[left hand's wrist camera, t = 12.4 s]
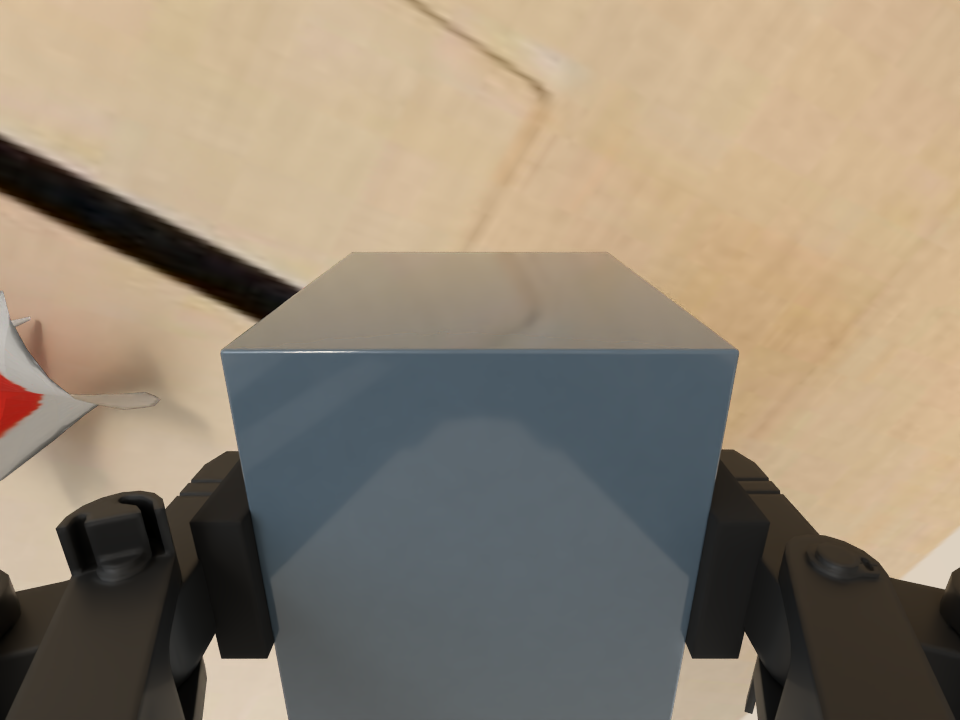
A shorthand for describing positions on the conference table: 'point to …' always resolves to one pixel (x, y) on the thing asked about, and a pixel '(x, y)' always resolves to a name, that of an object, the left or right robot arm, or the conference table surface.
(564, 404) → the cube
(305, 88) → the conference table surface
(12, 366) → the fish
